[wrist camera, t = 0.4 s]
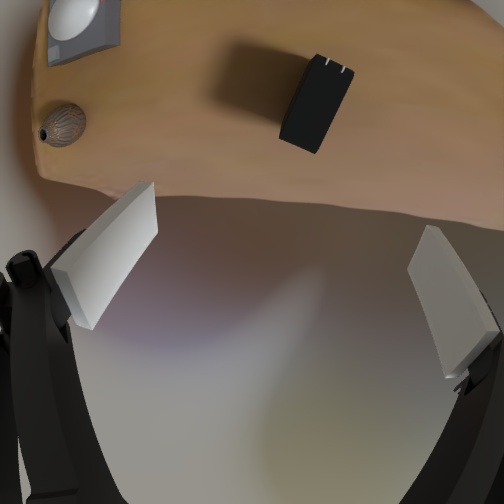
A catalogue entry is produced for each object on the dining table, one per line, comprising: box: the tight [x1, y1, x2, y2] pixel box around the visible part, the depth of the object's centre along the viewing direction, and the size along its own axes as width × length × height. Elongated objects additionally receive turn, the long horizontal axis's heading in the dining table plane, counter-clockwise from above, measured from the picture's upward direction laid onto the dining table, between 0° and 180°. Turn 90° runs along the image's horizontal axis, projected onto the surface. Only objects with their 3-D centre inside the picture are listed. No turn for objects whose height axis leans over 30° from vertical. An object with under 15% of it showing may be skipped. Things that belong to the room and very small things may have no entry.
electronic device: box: [279, 54, 355, 154], centre depth 28 cm, size 4×10×10 cm, turn 159°
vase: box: [38, 105, 86, 147], centre depth 33 cm, size 7×7×9 cm
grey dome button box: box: [48, 0, 121, 67], centre depth 23 cm, size 16×12×5 cm
